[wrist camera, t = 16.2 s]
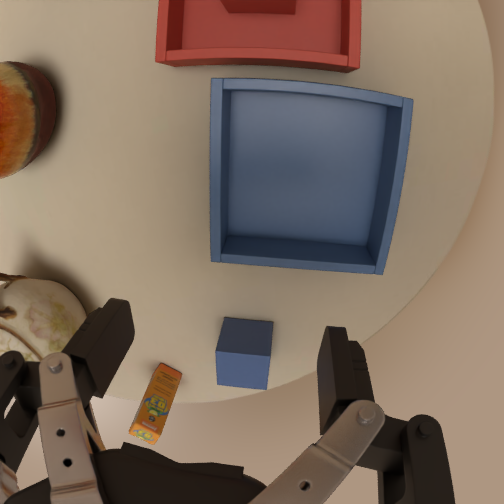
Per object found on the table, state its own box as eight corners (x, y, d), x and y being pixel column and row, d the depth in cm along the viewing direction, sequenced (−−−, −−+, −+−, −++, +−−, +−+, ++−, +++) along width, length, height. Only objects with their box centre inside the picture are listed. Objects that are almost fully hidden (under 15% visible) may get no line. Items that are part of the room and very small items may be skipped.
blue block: (273, 321, 32) (270, 356, 27) (269, 355, 34) (266, 390, 30) (224, 317, 32) (215, 351, 28) (224, 351, 35) (217, 384, 30)
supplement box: (184, 372, 37) (162, 438, 28) (174, 385, 39) (153, 446, 30) (160, 360, 37) (134, 424, 28) (152, 373, 38) (126, 434, 29)
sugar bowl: (131, 370, 38) (88, 461, 25) (52, 356, 40) (5, 426, 27) (81, 234, 30) (-14, 321, 16) (0, 241, 31) (-77, 304, 18)
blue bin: (394, 98, 21) (413, 99, 17) (371, 251, 27) (383, 275, 24) (222, 81, 22) (211, 78, 18) (220, 239, 28) (210, 261, 25)
